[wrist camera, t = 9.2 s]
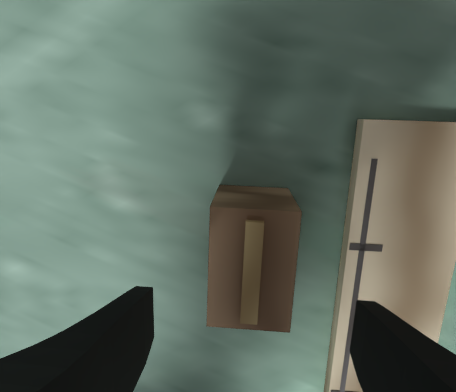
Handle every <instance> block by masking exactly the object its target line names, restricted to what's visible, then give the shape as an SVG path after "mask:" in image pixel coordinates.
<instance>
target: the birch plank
mask: <svg viewBox="0 0 456 392" xmlns="http://www.w3.org/2000/svg"><path fill="white" fill-rule="evenodd" d="M455 261H456V122H433V121H403V120H372V119H358V120H357V128H356V136H355V144H354V153H353V161H352V169H351V177H350V185H349V193H348V201H347V209H346V217H345V225H344V233H343V241H342V249H341V257H340V265H339V273H338V281H337V290H336V298H335V306H334V314H333V322H332V330H331V338H330V346H329V354H328V362H327V370H326V378H325V386H324V392H363V391H362V388H361V386H360V383H359V381H358V378H357V375H356V372H355V369H354V365H353V362H352V358H351V354H350V344H351V337H352V330H353V323H354V316H355V309H356V301H357V300H363V301H375V302H377V303H379V304H380V305H382V306H384V307H385V308H387V309H388V310H389V311H391V312H392V313H394V314H395V315H397V316H398V317H400V318H401V319H402V320H404V321H405V322H407V323H408V324H410V325H411V326H412V327H414V328H415V329H417V330H418V331H420V332H421V333H423V334H424V335H426V336H427V337H429V338H430V339H432V340H433V341H435V342H436V343H438V340H439V335H440V331H441V326H442V321H443V317H444V312H445V307H446V303H447V298H448V293H449V289H450V284H451V280H452V275H453V270H454V266H455Z"/></svg>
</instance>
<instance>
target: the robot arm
mask: <svg viewBox="0 0 456 392" xmlns="http://www.w3.org/2000/svg"><path fill="white" fill-rule="evenodd" d="M153 339H154V314H153V287H140V286H136V287H134V288H132V289H131V290H129V291H127V292H126V293H124V294H123V295H121V296H120V297H118V298H117V299H115V300H114V301H112V302H110V303H109V304H107V305H106V306H104V307H103V308H101V309H100V310H98V311H96V312H95V313H93V314H91V315H90V316H88V317H86V318H85V319H83V320H81V321H79V322H78V323H76V324H74V325H73V326H71V327H69V328H67V329H65V330H64V331H62V332H60V333H58V334H56V335H54V336H52V337H50V338H48V339H46V340H43V341H41V342H39V343H37V344H35V345H33V346H30V347H28V348H26V349H23V350H21V351H18V352H16V353H13V354H11V355H8V356H6V357H3V358H1V359H0V392H133V391H134V388H135V386H136V384H137V382H138V380H139V377H140V375H141V373H142V371H143V369H144V366H145V364H146V361H147V358H148V355H149V352H150V349H151V345H152V342H153ZM350 354H351V358H352V362H353V365H354V369H355V372H356V375H357V378H358V381H359V383H360V386H361V388H362V391H363V392H456V355H455V354H454V353H452V352H450V351H449V350H447V349H446V348H444V347H442V346H441V345H439V344H438V343H436V342H435V341H433V340H432V339H430V338H429V337H427V336H426V335H424V334H423V333H421V332H420V331H418V330H417V329H415V328H414V327H412V326H411V325H410V324H408V323H407V322H405V321H404V320H402V319H401V318H400V317H398V316H397V315H395V314H394V313H392V312H391V311H389V310H388V309H387V308H385V307H384V306H382V305H380V304H379V303H377V302H375V301H363V300H357V301H356V309H355V316H354V323H353V330H352V337H351V344H350Z"/></svg>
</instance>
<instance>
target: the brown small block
mask: <svg viewBox="0 0 456 392" xmlns="http://www.w3.org/2000/svg"><path fill="white" fill-rule="evenodd" d="M301 215H302V211H301V210H300V208H299V206H298V204H297V203H296V201H295V199H294V198H293V196H292V194H291V193H290V191H289V189H288V188H273V187H254V186H235V185H219V187H218V190H217V192H216V194H215V196H214V199H213V201H212V203H211V206H210V226H209V261H208V296H207V326H209V327H222V328H236V329H249V330H263V331H276V332H290V327H291V317H292V306H293V296H294V286H295V276H296V266H297V256H298V246H299V236H300V225H301Z"/></svg>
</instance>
